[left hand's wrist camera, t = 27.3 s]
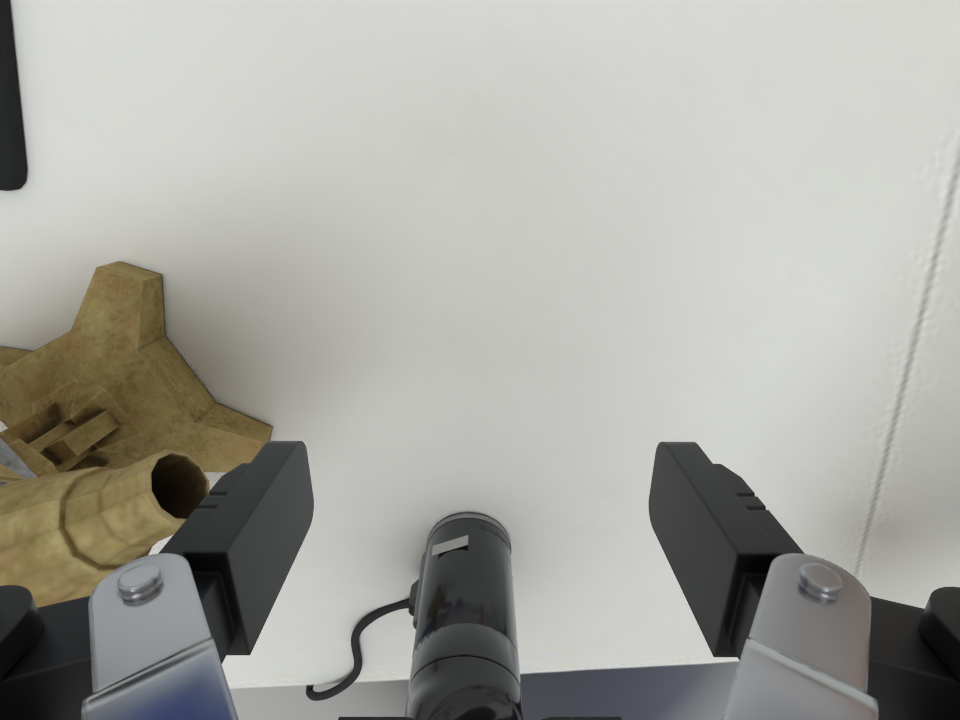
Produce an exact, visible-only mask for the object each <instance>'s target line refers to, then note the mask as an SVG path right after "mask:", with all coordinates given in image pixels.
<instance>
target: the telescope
mask: <svg viewBox="0 0 960 720" xmlns="http://www.w3.org/2000/svg"><path fill="white" fill-rule="evenodd" d="M0 421H2V422H3V423H4V424H5V425H6V426H7V427H8V429H6V430H4V431H3V432H1V433H0V586H4V585H18V586H23V587H25V588H27V589H28V590H29V591H30V592H31V594H32V596H33V599H34V601H35V604H36V606H37V608H38V607H43V606H47V605H52V604H56V603H60V602H65V601H69V600H73V599H78V598H82V597H86V596H90V595H91V593H92V592H93V590H94V589H95V587H96V586H97V585H98V584H99V583H100V582H101V581H102V580H103V579H104V578H105V577H106V576H108V575H109V574H110V573H112V572H113V571H114V570H116V569H118V568H119V567H121V566H123V565H125V564H127V563H129V562H131V561H133V560H136V559H139V558H142V557H145V556H148V554H149V552H150V550H151V548H152V546H153V545H155V544H156V543H157V542H158V541H160V540H162V539H164V538H167V537H169V536H171V535H173V534H175V533H176V532H177V530H178V529H179V528H180V527H181V525H182V524H183V523H184V522H185V521H186V519H187V518H188V517H189V516H190V515H191V513H192V512H193V511H194V510H195V509H198V505H199V504H200V502H201V501H202V500H203V499H204V498H205V496H208V495H209V491H210V488H209V481H208V479H207V477H206V475H205V473H204V472H229V471H231V470H233V469H234V468H236V467H237V466H239V465H240V464H242V463H251V461H252V460H253V459H254V458H255V456H256V455H257V454H258V452H259V451H260V450H261V448H262V447H263V446H264V444H265V443H266V442H268V441H270V436H271V432H272V427H271V426H268V425H266V424H264V423H261V422H259V421H257V420H254V419H252V418H250V417H248V416H245V415H243V414H241V413H238V412H236V411H234V410H231V409H229V408H227V407H224V406H222V405H220V404H217V403H216V402H215V401H214V400H213V398H212V397H211V396H210V394H209V393H208V392H207V390H206V389H205V388H204V386H203V385H202V384H201V382H200V381H199V380H198V379H197V377H196V376H195V375H194V373H193V372H192V371H191V369H190V368H189V367H188V365H187V364H186V363H185V361H184V360H183V359H182V357H181V356H180V355H179V353H178V352H177V351H176V349H175V348H174V347H173V346H172V344H171V343H170V342H169V340H168V339H167V338H166V336H165V328H164V310H163V293H162V276H161V274H158V273H154V272H151V271H148V270H145V269H142V268H138V267H135V266H132V265H129V264H126V263H122V262H119V261H118V262H115V263H111V264H107V265H104V266H100V267H97V268H96V270H95V273H94V275H93V278H92V280H91V283H90V285H89V288H88V290H87V293H86V295H85V297H84V300H83V302H82V305H81V307H80V310H79V312H78V315H77V317H76V320H75V322H74V325H73V327H72V330H71V331H70V332H68V333H66V334H65V335H63V336H61V337H59V338H57V339H55V340H54V341H52V342H50V343H48V344H46V345H45V346H43V347H41V348H39V349H37V350H36V351H34V352H33V351H26V350H19V349H13V348H6V347H0Z"/></svg>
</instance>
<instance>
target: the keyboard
mask: <svg viewBox="0 0 960 720" xmlns="http://www.w3.org/2000/svg"><path fill="white" fill-rule="evenodd" d="M25 177H26V162H25V153H24V143H23V133H22V124H21V114H20V105H19V95H18V85H17V76H16V66H15V56H14V47H13V37H12V28H11V18H10V8H9V0H0V190H5V191H9V190H16V189H20V187H21V186H22V185H23V183H24V182H25Z"/></svg>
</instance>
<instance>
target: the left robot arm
mask: <svg viewBox="0 0 960 720" xmlns="http://www.w3.org/2000/svg"><path fill="white" fill-rule="evenodd" d="M313 510H314V499H313V491H312V484H311V477H310V470H309V463H308V456H307V450H306V446H305V444H304V443H303V442H302V441H268V442H266V443H265V444H264V446H263V447H262V448H261V450H260V451H259V452H258V454H257V455H256V456H255V458H254V459H253V460H252V461H251V463H242V464H240V465H239V466H237V467H236V468H234V469H233V470H231V471H229V472H228V473H226V474H225V475H223V476H222V477H221V478H220V479H219V481H218V482H217V483H216V484H215V485H214V487H213V488H212V489H211V490H210V491H209V495H208V496H205V498H204V499H203V500H202V501H201V502H200V504H199V505H198V509H195V510H194V511H193V512H192V513H191V515H190V516H189V517H188V518H187V519H186V521H185V522H184V523H183V524H182V525H181V527H180V528H179V529H178V530H177V532H176V533H175V534H174V535H173V536H172V538H171V539H170V540H169V541H168V542H167V544H166V545H165V546H164V547H163V549H162V550H161V551H160V552H159V553H158V554H153V555H149V556H145V557H142V558H139V559H136V560H133V561H131V562H129V563H127V564H125V565H123V566H121V567H119V568H118V569H116V570H114V571H113V572H112V573H110V574H109V575H108V576H106V577H105V578H104V579H103V580H102V581H101V582H100V583H99V584H98V585H97V586H96V587H95V589H94V590H93V592H92V593H91V595H90V596H86V597H82V598H78V599H73V600H69V601H65V602H60V603H56V604H52V605H47V606H43V607H38V608H37V606H36V604H35V601H34V599H33V596H32V594H31V592H30V591H29V590H28V589H27V588H25V587H23V586H18V585H4V586H0V720H239V719H238V716H237V713H236V710H235V706H234V703H233V700H232V697H231V693H230V690H229V687H228V684H227V680H226V677H225V674H224V671H223V668H222V662H223V661H224V659H225V657H226V655H250V654H251V652H252V650H253V648H254V645H255V643H256V641H257V639H258V637H259V635H260V633H261V630H262V628H263V626H264V624H265V622H266V620H267V618H268V615H269V613H270V611H271V609H272V607H273V605H274V603H275V600H276V598H277V596H278V594H279V592H280V590H281V588H282V585H283V583H284V581H285V579H286V577H287V575H288V573H289V570H290V568H291V566H292V564H293V562H294V560H295V558H296V556H297V553H298V551H299V549H300V547H301V545H302V543H303V541H304V538H305V536H306V534H307V532H308V530H309V528H310V525H311V522H312V517H313ZM649 515H650V520H651V524H652V527H653V530H654V532H655V534H656V536H657V538H658V540H659V542H660V544H661V547H662V549H663V551H664V553H665V555H666V557H667V559H668V561H669V563H670V566H671V568H672V570H673V572H674V574H675V576H676V578H677V580H678V582H679V585H680V587H681V589H682V591H683V593H684V595H685V597H686V599H687V601H688V604H689V606H690V608H691V610H692V612H693V614H694V616H695V618H696V620H697V623H698V625H699V627H700V629H701V631H702V633H703V635H704V637H705V640H706V642H707V644H708V646H709V648H710V650H711V652H712V654H713V656H714V657H738V659H739V660H740V661H739V664H738V668H737V671H736V674H735V677H734V680H733V684H732V687H731V690H730V693H729V697H728V700H727V703H726V706H725V710H724V713H723V716H722V719H721V720H960V588H959V587H943V588H939V589H937V590H934V591H933V592H932V593H931V596H930V598H929V600H928V603H927V605H926V608H925V609H922V608H918V607H914V606H909V605H905V604H901V603H896V602H892V601H888V600H883V599H879V598H875V597H871V596H869V593H868V592H867V590H866V589H865V587H864V586H863V585H862V584H861V583H860V582H859V581H858V580H857V579H856V578H855V577H854V576H852V575H851V574H850V573H848V572H847V571H846V570H844V569H842V568H841V567H839V566H837V565H835V564H833V563H831V562H829V561H827V560H824V559H821V558H818V557H815V556H811V555H807V554H804V552H803V551H802V550H801V549H800V548H799V546H798V545H797V544H796V543H795V541H794V540H793V539H792V538H791V537H790V535H789V534H788V533H787V532H786V531H785V529H784V528H783V527H782V526H781V525H780V523H779V522H778V521H777V520H776V519H775V517H774V516H773V515H772V514H771V513H770V511H769V510H766V507H765V505H764V504H763V503H762V502H761V501H760V499H759V498H758V497H755V493H754V492H753V491H752V490H751V489H750V487H749V486H748V485H747V484H746V482H745V481H744V480H743V479H742V478H741V477H740V476H738V475H737V474H735V473H734V472H732V471H731V470H729V469H728V468H726V467H725V466H723V465H721V464H712V462H711V461H710V460H709V458H708V457H707V456H706V454H705V453H704V452H703V451H702V449H701V448H700V447H699V445H698V444H697V443H695V442H660V443H659V444H658V446H657V449H656V454H655V461H654V468H653V475H652V482H651V489H650V496H649ZM404 608H409V613H410V614H411V615H412V616H414V618H413V626H414V628H415V629H416V635H415V643H414V650H413V658H412V666H411V673H410V680H409V688H408V695H407V703H406V711H405V717H339V719H338V720H523V708H522V696H521V682H520V669H519V658H518V645H517V632H516V619H515V606H514V593H513V581H512V567H511V543H510V539H509V536H508V534H507V532H506V530H505V529H504V528H503V527H502V526H501V525H500V524H499V523H498V522H497V521H495V520H493V519H492V518H490V517H487V516H484V515H481V514H476V513H461V514H456V515H453V516H450V517H448V518H446V519H444V520H442V521H441V522H439V523H438V524H437V525H436V526H435V527H434V528H433V530H432V531H431V533H430V535H429V538H428V542H427V552H426V553H425V554H423V557H422V563H421V570H420V577H419V579H418V580H417V581H416V582H415V583H414V584H413V585H412V587H411V593H410V599H409V600H403V601H400V602H396V603H393V604H390V605H387V606H384V607H382V608H379V609H377V610H375V611H373V612H372V613H370V614H369V615H368V616H366V617H365V618H364V619H363V620H362V621H361V622H360V623H359V624H358V625H357V626H356V628H355V629H354V631H353V634H352V637H351V647H352V652H353V657H354V670H353V672H352V673H351V674H350V676H349V677H347V678H346V679H345V680H344V681H343V682H341V683H340V684H338V685H337V686H335V687H333V688H331V689H329V690H326V691H323V692H314V691H313V686H314V685H306V695H307V697H308V698H309V699H311V700H315V701H318V700H324V699H328V698H330V697H333V696H335V695H337V694H338V693H340V692H342V691H343V690H345V689H346V688H347V687H349V686H350V685H351V684H352V683H353V682H354V681H355V680H356V679H357V677H358V676H359V674H360V671H361V668H362V659H361V654H360V649H359V636H360V634H361V632H362V631H363V630H364V629H365V628H366V627H367V626H368V625H369V624H370V623H372V622H373V621H374V620H376V619H378V618H379V617H381V616H383V615H385V614H387V613H390V612H392V611H395V610H399V609H404ZM543 720H622V719H621V717H550V718H546V719H543Z"/></svg>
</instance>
